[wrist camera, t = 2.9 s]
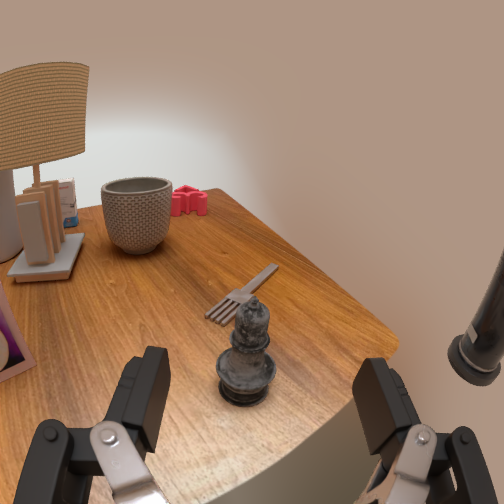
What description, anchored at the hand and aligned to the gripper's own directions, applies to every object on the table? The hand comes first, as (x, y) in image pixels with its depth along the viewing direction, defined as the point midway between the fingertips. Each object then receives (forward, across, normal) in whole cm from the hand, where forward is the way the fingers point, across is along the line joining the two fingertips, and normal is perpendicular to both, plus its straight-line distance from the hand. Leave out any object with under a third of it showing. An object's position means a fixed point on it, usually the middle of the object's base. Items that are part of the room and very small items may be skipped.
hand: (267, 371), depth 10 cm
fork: (+30, 0, +16) cm, 34 cm away
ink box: (+51, +47, +16) cm, 71 cm away
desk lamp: (+32, +38, +16) cm, 52 cm away
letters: (+69, +17, +16) cm, 73 cm away
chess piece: (+11, 0, +16) cm, 20 cm away
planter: (+42, +22, +16) cm, 50 cm away
